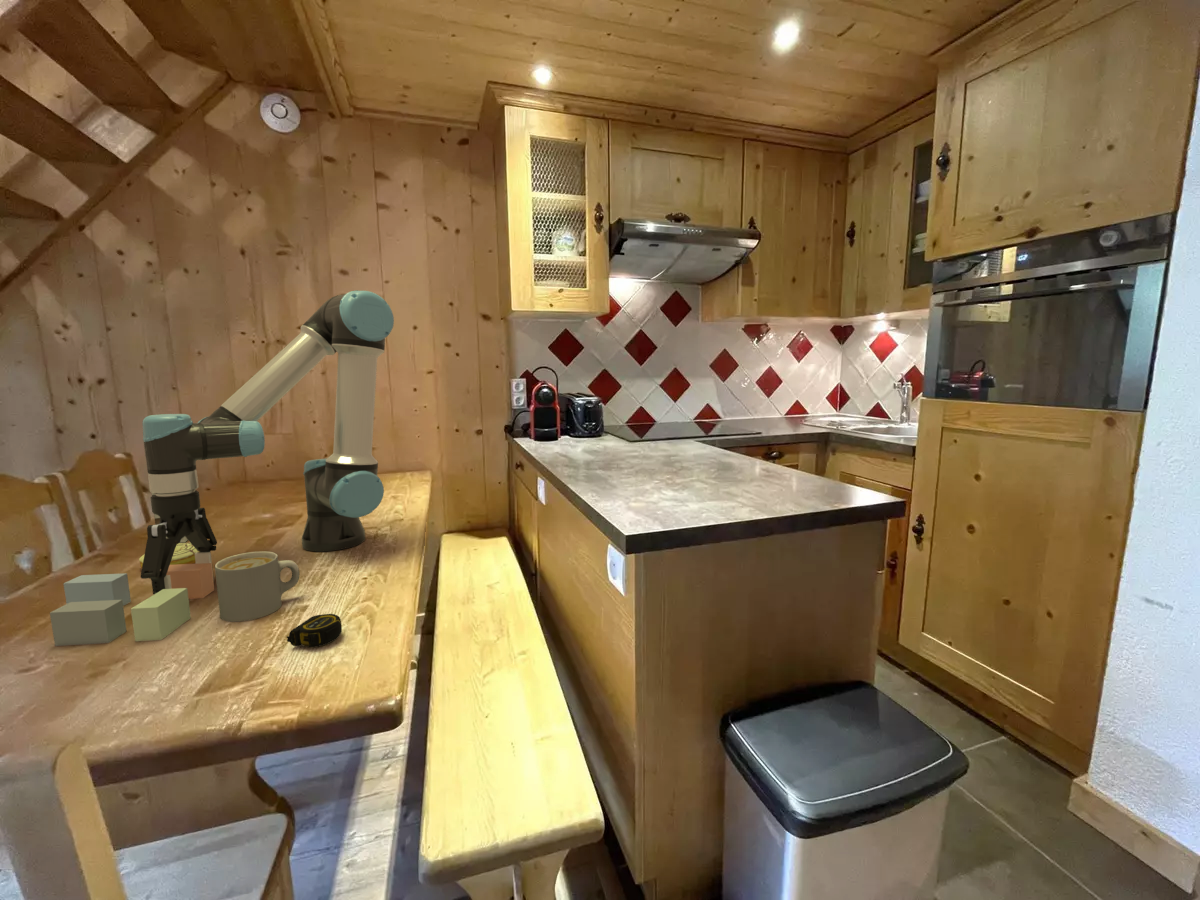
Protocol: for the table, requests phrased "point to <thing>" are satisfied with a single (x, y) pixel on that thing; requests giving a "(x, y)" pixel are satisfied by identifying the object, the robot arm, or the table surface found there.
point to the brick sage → (160, 614)
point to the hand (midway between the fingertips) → (186, 594)
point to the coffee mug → (252, 585)
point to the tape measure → (316, 631)
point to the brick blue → (98, 588)
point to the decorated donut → (180, 554)
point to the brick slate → (88, 622)
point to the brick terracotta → (192, 578)
